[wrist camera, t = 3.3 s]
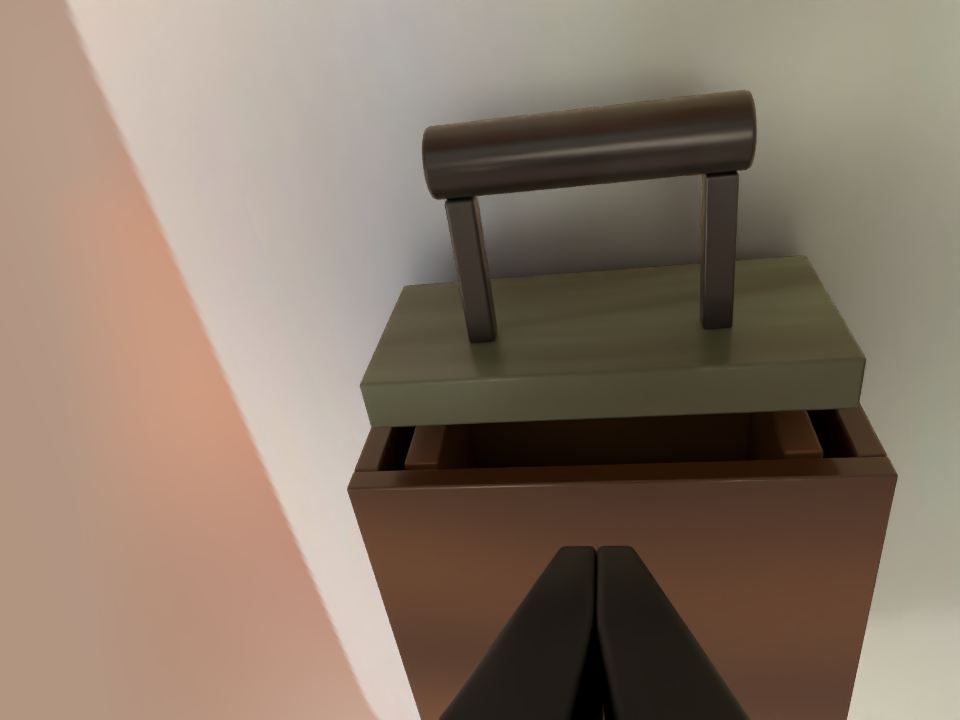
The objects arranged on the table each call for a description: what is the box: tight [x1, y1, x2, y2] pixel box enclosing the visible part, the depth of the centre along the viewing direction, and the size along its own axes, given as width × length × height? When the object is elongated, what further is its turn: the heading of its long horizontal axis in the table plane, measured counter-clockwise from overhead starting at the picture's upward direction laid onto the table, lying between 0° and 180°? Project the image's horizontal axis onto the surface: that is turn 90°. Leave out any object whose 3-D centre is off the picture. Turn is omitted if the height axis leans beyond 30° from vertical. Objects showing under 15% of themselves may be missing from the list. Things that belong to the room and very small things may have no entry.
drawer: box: [360, 90, 866, 470], centre depth 18 cm, size 17×10×5 cm, turn 8°
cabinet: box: [347, 402, 898, 720], centre depth 21 cm, size 13×11×6 cm
